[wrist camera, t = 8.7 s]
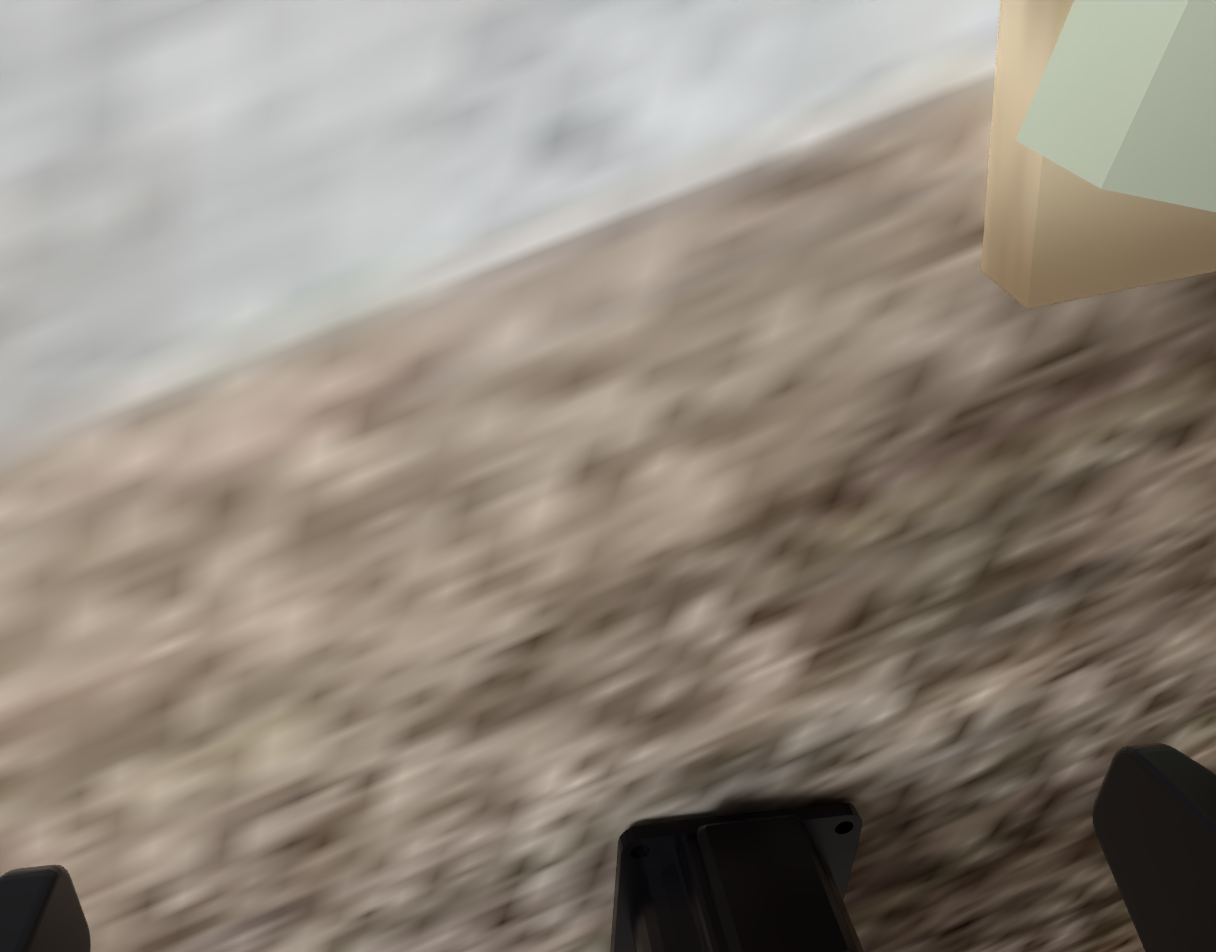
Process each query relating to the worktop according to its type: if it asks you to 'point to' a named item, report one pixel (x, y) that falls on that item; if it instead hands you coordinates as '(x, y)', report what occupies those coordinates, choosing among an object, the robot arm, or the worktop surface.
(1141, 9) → the sage slab
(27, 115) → the worktop surface
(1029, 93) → the maple slab
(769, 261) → the worktop surface
